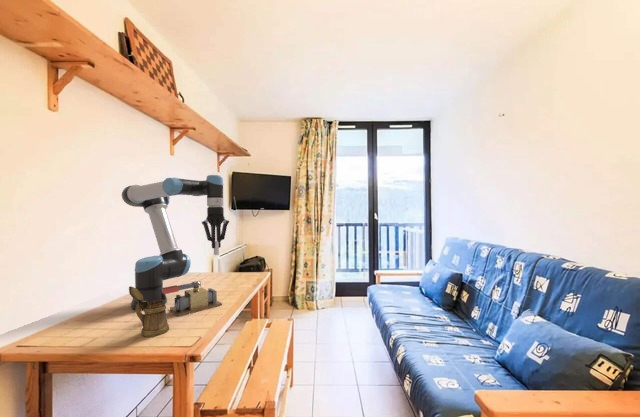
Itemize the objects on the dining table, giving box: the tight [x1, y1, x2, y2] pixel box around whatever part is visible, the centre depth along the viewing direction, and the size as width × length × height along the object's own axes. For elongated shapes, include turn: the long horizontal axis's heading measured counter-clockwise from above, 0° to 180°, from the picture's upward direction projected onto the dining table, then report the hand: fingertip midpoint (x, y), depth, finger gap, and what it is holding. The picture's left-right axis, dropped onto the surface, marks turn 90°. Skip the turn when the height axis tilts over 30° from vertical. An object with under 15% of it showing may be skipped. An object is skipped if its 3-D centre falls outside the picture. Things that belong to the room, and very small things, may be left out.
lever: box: [162, 280, 202, 295], centre depth 128 cm, size 16×4×2 cm, turn 137°
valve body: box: [169, 286, 223, 317], centre depth 132 cm, size 12×20×10 cm, turn 134°
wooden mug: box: [128, 286, 170, 338], centre depth 106 cm, size 9×14×18 cm, turn 102°
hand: (216, 254), depth 136 cm, fingers closed
